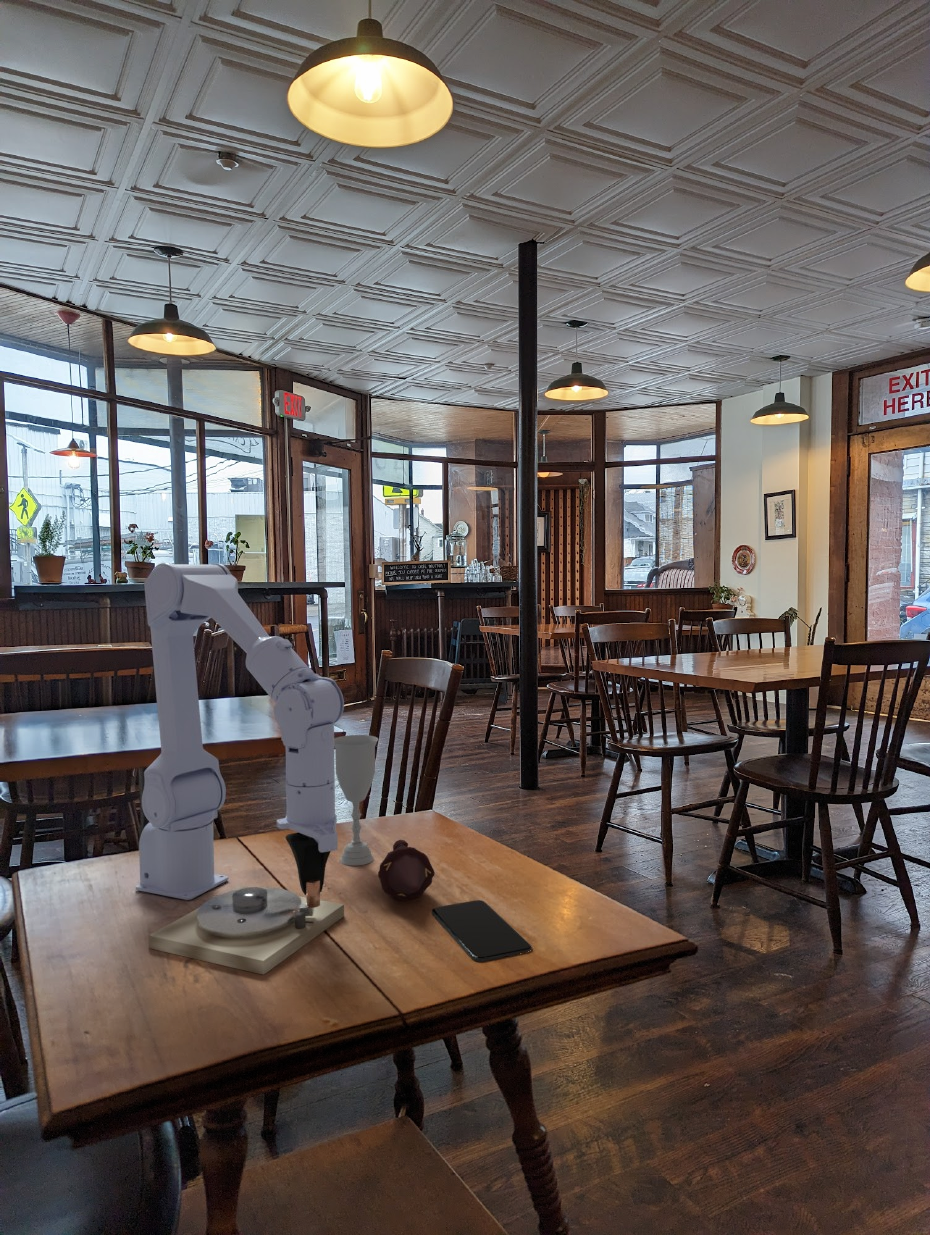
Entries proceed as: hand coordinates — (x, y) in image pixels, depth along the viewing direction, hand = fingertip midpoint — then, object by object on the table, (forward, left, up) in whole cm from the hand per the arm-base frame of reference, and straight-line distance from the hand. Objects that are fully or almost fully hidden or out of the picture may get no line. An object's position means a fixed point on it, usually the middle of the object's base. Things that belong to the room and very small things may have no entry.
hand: (312, 892), depth 98 cm
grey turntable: (-5, -4, -2) cm, 7 cm away
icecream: (+6, +12, -5) cm, 15 cm away
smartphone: (+19, +7, -5) cm, 21 cm away
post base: (-6, -4, -4) cm, 8 cm away
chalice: (-7, +22, -4) cm, 23 cm away
